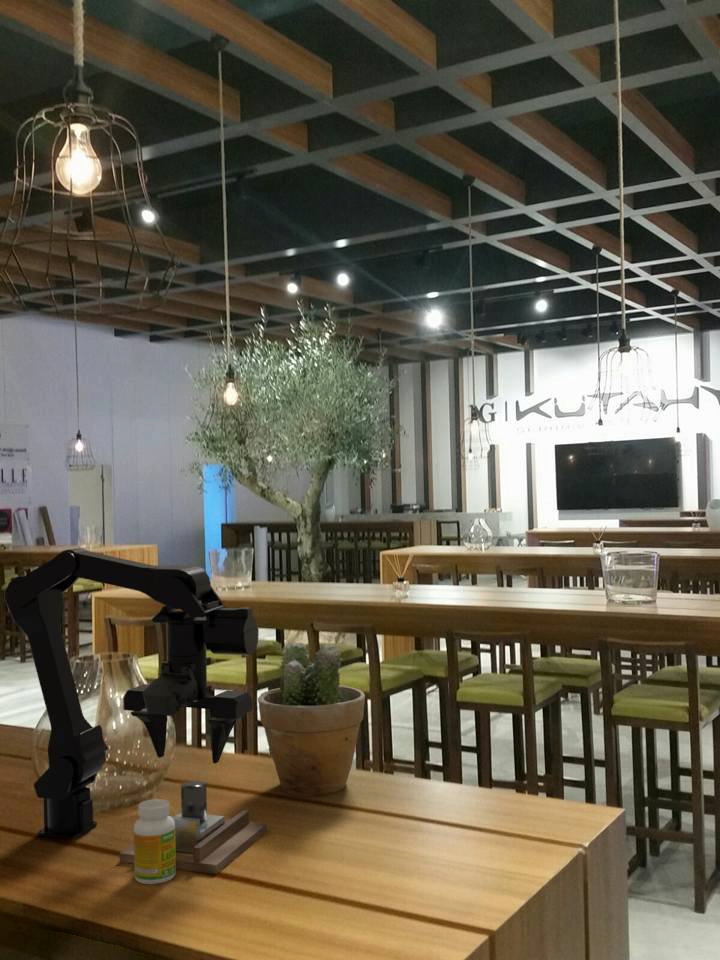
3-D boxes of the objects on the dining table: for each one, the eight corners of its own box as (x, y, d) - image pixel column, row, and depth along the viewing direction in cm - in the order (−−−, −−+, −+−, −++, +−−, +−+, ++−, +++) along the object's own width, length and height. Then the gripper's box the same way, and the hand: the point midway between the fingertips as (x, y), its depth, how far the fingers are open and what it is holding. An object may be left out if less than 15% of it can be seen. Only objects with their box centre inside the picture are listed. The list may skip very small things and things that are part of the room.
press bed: (119, 861, 132) (119, 840, 132) (178, 821, 147) (178, 802, 147) (216, 874, 127) (216, 851, 127) (267, 831, 142) (266, 811, 142)
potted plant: (237, 791, 161) (233, 643, 161) (305, 763, 176) (301, 628, 176) (323, 810, 150) (320, 652, 150) (388, 779, 165) (384, 635, 165)
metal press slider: (152, 848, 132) (151, 795, 132) (182, 828, 140) (180, 777, 140) (197, 853, 130) (196, 799, 130) (224, 832, 137) (223, 781, 137)
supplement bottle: (166, 886, 123) (164, 811, 123) (127, 884, 124) (125, 809, 124) (182, 869, 128) (180, 797, 128) (145, 867, 129) (143, 796, 129)
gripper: (99, 659, 135) (101, 769, 135) (215, 667, 128) (217, 782, 128) (143, 646, 145) (145, 748, 145) (253, 652, 139) (254, 759, 139)
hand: (188, 759), depth 139 cm, fingers open, 9 cm apart
